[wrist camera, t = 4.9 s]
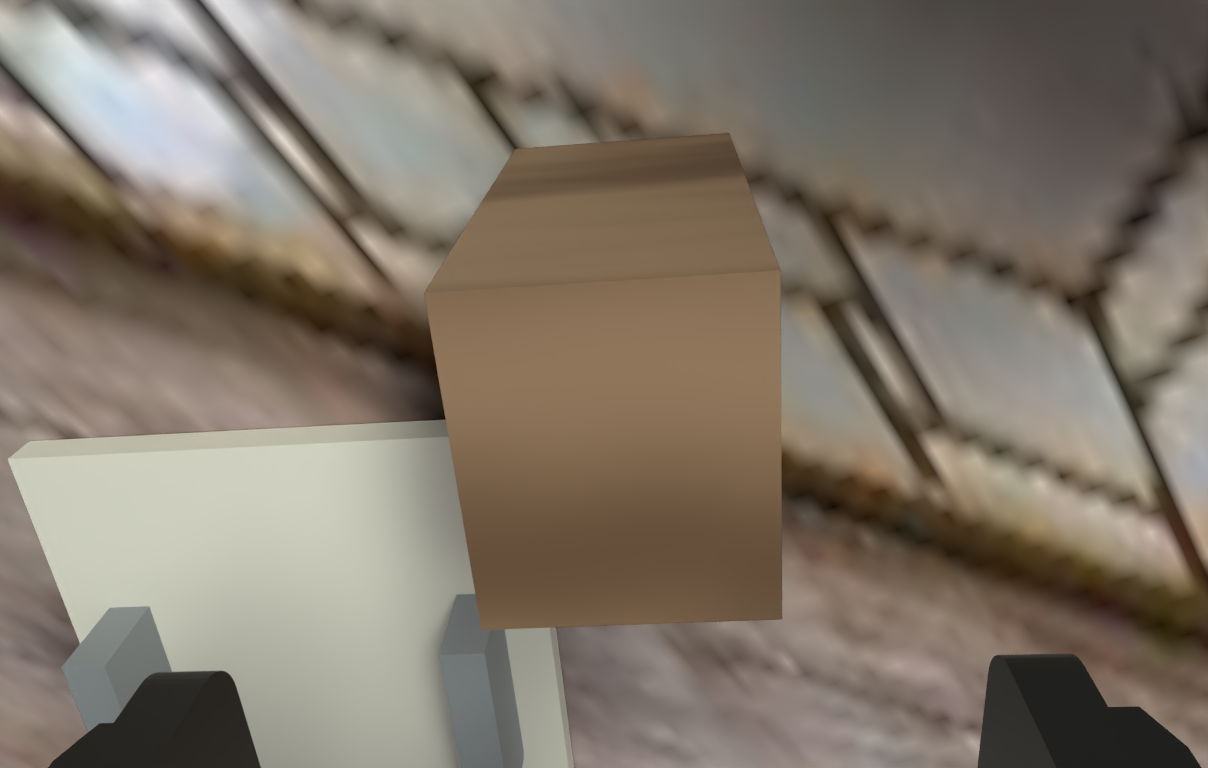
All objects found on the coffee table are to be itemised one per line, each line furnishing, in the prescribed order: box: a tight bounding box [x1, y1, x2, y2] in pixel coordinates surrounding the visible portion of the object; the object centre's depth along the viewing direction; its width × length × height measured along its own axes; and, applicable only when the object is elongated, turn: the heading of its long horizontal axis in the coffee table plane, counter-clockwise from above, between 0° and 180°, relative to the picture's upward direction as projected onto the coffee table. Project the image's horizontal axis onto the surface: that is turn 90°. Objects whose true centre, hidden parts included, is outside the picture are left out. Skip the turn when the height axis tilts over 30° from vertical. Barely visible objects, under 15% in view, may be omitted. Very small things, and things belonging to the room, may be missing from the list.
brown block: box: [424, 133, 782, 630], centre depth 19 cm, size 6×5×10 cm
